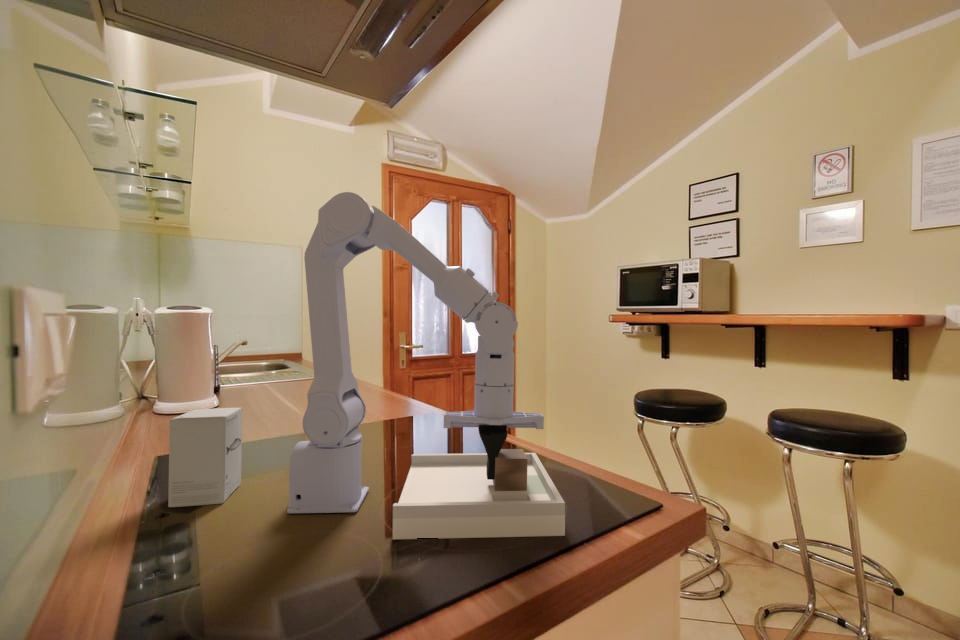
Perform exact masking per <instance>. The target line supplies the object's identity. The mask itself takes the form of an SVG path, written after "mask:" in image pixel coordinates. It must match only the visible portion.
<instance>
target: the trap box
mask: <svg viewBox="0 0 960 640" xmlns="http://www.w3.org/2000/svg"><path fill="white" fill-rule="evenodd" d="M524 453H525V455H526V457H527V459H528V460H527V491H495V488H494V483H493V480H490V479H487V458H488V456H487V453H486V452H480V453H478V452H477V453H476V452H475V453H468V452H467V453H418V454H417V453H413V454H411V465H410V468H409V470H408V474H407V476H406V480H405V483H404V485H403V488H402V490H401V493H400V497H399V499H398V502H395V503H393V504H392V540H418V539H417V538H438V539H471V538H472V539H473V538H478V539H479V538H484V539H485V538H517V537H518V538H520V537H525V538H526V537H563V536H564V537H565V536H566V502H565V500H564V499H563V497H562V496H561V494H560V492H559V490H558V488H557V487H556V485H555V483H554V482H553V480H552V478H551V477H550V475H549V474H548V471H547V470H546V468H545V467H544V465H543V463H542V462H541V460H540V458H539V456H538V455H537V453H536V452H524Z"/></svg>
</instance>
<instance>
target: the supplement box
mask: <svg viewBox="0 0 960 640" xmlns="http://www.w3.org/2000/svg"><path fill="white" fill-rule="evenodd" d="M242 425H243V407H217V408H215V407H213V408H199V409H192V410H190V411H187V412H185V413H183V414H180V415H178V416H175V417H173V418H170V419H169V442H168V443H169V447H168V449H169V450H168V451H169V453H168V491H167V493H168V496H167V497H168V498H167V499H168V500H167V502H168V504H167V507H168V508H182V507H194V506H196V507H197V506H207V505H220V504H224V503H225V502H226V500H227V499H228V498H229V497H230V496H231V495H232V493H234V491H235V490H237V488H239V487H240V486H241V484H242V450H243V449H242V447H243V445H242V444H243V443H242V440H243V439H242V438H243V437H242V436H243V435H242V434H243V433H242V431H243V430H242V429H243V428H242V427H243V426H242Z"/></svg>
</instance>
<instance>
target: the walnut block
mask: <svg viewBox="0 0 960 640" xmlns="http://www.w3.org/2000/svg"><path fill="white" fill-rule="evenodd" d="M525 453H526V452H525V451H524V449H523V448H501V450H500V452H499V455H498V457H495V478H494V480H493V483H494V488H495V491H527V460H528V459H527V457H526V455H525Z"/></svg>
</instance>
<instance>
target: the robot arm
mask: <svg viewBox="0 0 960 640" xmlns="http://www.w3.org/2000/svg"><path fill="white" fill-rule="evenodd" d="M375 247H376V248H378V249H379V250H382V251H391V252H392V251H393V252H394V253H397V254H398V255H399V256H401V257H402V258H403V259H404V260H405V261H406V262H408V264H410V265H412V266H413V267H414V268H416V269H417V270H418V271H419V272H420V273H421V274H423V275H424V276H425V277H426V278H428V279H429V280H430V281H431V282H432V283H433V288H434V290H433V291H434V292H433V293H434V296H435V297H436V298H437V299H438V300H439V301H441V302H442V303H443V304H444V305H445V306H447V308H449V309H450V310H451V311H453V312H454V314H456V315H457V316H458V317H459V318H460V319H462V320H463V321H464V322H465V323H467V324H468V323H472V324H474V326H475V329H476V332H477V333H478V336H477V350H476V352H475V366H474V368H475V370H474V399H473V401H474V405H473V407H474V409H473V410H465V411H462V410H461V411H444V412H443V427H442V428H443V429H451V428H478V434H479V437H480V441H481V442H482V444H483V447H484V449H485V453H487V456H488V458H487V479H490V480H494V478H495V457H498V455H499V452H500V450H501V449H503V447H504V444H505V442H506V440H507V437H508V428H511V429H515V428H516V429H517V428H518V429H524V428H525V429H536V430H544V429H545V428H544V427H545V425H544V423H545V422H544V421H545V420H544V419H545V416H544V415H543V414H542V413H540V412H539V413H538V412H524V411H523V412H522V411H515V410H514V391H515V387H514V386H515V353H514V347H515V340H514V337H513V336H514V335H515V334H516V332H517V330H518V326H519V322H518V321H517V316H516V313H515V312H514V310H513V309H512V308H511V307H510V305H508V304H506V303H504V302H499V301H496V300H497V299H498V298H499V297H500V295H499V293H497V292H496V291H493V292H491V291H490V290H489V289H487V287H485V286H484V285H483V284H482V283H481V282H479V281H478V280H477V279H476V278H475V277H474V276H475V274H476V273H475V272H474V271H473V270H472V269H471V268H469V267H468V268H467V269H464V268H463V267H462V266H460V265H457V266H455V265H454V266H447V265H446V264H445V263H443V262H442V261H441V260H440V259H439V258H438V257H437V256H436V255H435V254H433V253H432V252H431V251H430V250H429V249H428V248H427V247H426V246H425V245H424V244H423V243H422V242H420V241H419V240H418V239H417V238H416V237H415V236H414V235H412V234H411V232H410V231H408V230H407V229H406V228H405V227H404V226H402V224H400V223H399V222H398V221H397V220H395V219H394V218H393V217H391V216H389V215H388V214H387V213H385V212H384V211H383V210H382V209H380V208H378V207H377V206H375V205H373V204H371V206H370V205H369V204H368V202H367V200H365V198H364V197H362V196H361V195H360V194H357V193H355V192H350V191H346V192H340V193H337V194H336V195H334V196H333V197H331V198H330V199H329V200H328V201H327V202H326V203H325V204H323V205H322V206H321V207H320V208H319V209H318V216H317V224H316V226H315V228H314V231H313V233H312V235H311V238H310V240H309V242H308V244H307V247H306V249H305V252H304V270H305V271H304V272H305V281H306V292H307V305H308V314H309V327H310V328H309V329H310V340H311V342H310V343H311V352H312V353H311V354H312V364H313V380H312V382H311V384H310V386H309V389H308V391H307V394H306V395H307V396H306V397H307V405H306V406H307V407H306V409H305V412H304V414H303V417H302V429H303V432H304V435H305V436H306V438H307V439H308V440H302V441H301V440H300V441H298V442H297V443H296V444H295V446H294V447H293V449H292V450H291V451H292V452H291V455H290V460H289V479H288V482H289V485H288V486H289V491H288V493H289V495H288V497H289V500H288V501H289V503H288V508H287V509H286V513H287V514H329V513H330V514H331V513H335V514H337V513H339V514H340V513H357V512H358V510H359V509H360V507H361V506H362V503H363V502H364V500H365V498H366V496H367V495H368V492H369V490H370V487H369V486H363V485H362V481H363V480H362V478H363V477H362V476H363V475H362V473H363V472H362V470H363V469H362V467H363V465H362V464H363V463H362V461H363V459H362V457H363V456H362V455H363V452H362V451H363V442H362V441H363V435H362V432H361V431H360V428H359V427H360V425H361V424H362V423H363V421H364V420H365V417H366V412H367V408H366V403H365V400H364V399H363V397H362V396H361V394H360V391H359V383H358V381H357V378H356V377H355V375H354V373H353V371H352V370H353V369H352V361H351V360H352V358H351V348H350V347H351V346H350V345H351V344H350V335H349V324H348V323H349V322H348V313H347V312H348V311H347V300H346V288H345V279H344V278H345V275H344V269H345V268H346V266H348V265H349V264H350V263H351V262H352V261H353V260H354V259H355V258H356V257H357V256H359V255H361V254H363V253H365V252H367V251H369V250H371V249H373V248H375Z"/></svg>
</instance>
